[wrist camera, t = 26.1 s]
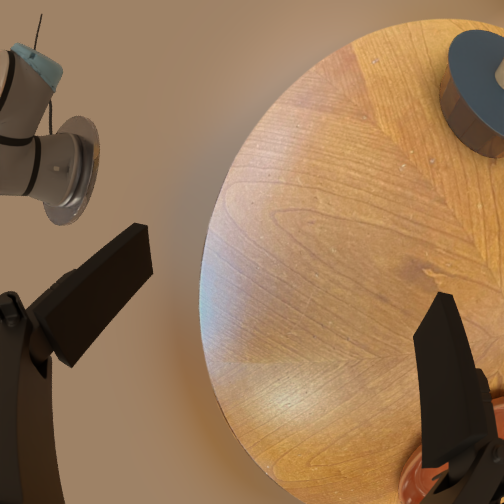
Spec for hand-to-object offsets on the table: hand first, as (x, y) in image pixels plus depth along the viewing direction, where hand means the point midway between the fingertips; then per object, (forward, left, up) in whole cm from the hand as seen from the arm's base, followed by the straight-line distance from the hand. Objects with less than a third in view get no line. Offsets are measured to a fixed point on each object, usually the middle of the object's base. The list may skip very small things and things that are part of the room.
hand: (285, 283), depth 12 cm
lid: (-4, +24, -12) cm, 27 cm away
